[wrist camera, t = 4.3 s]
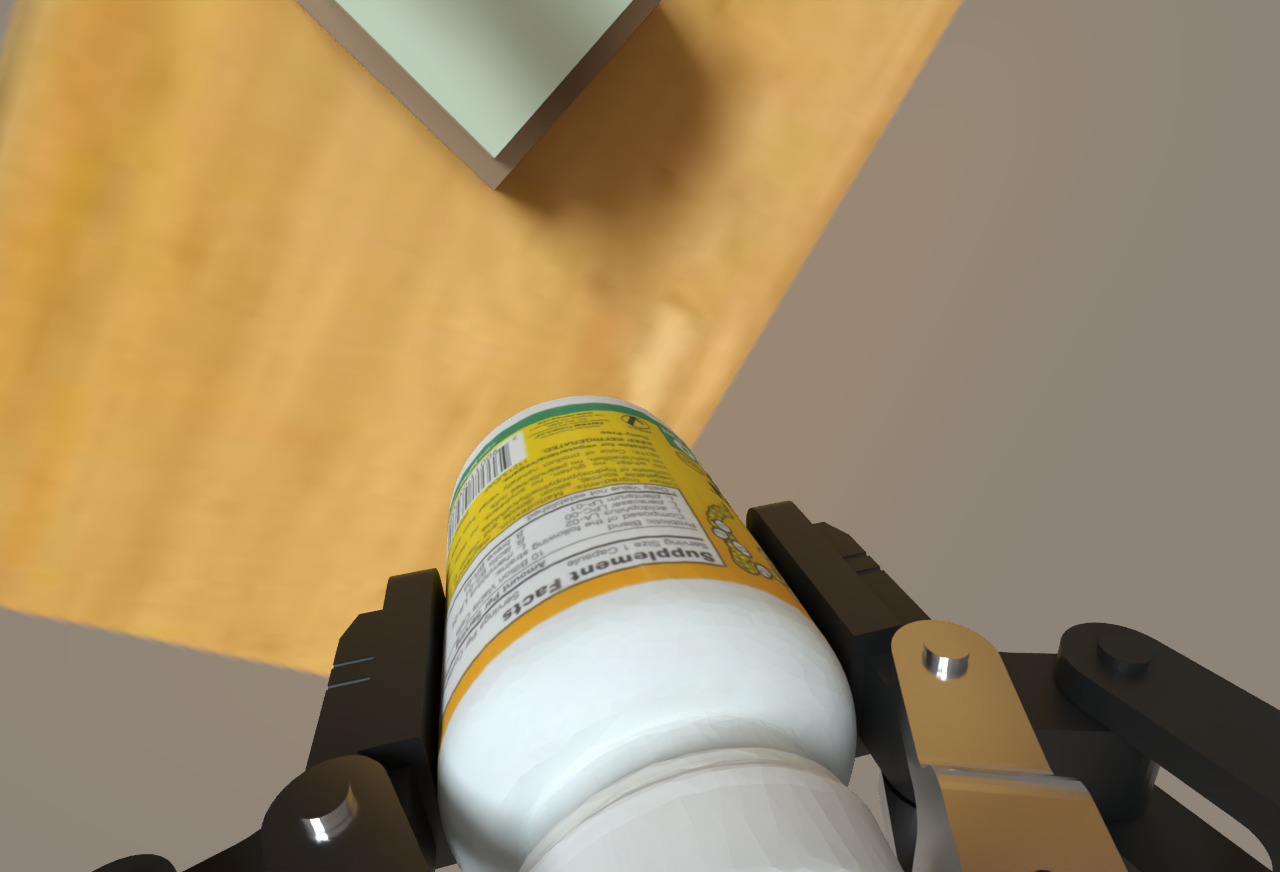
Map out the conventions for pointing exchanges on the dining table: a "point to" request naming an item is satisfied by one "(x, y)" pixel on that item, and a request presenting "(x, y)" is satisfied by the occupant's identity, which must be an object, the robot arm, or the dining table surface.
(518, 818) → the supplement bottle
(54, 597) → the dining table surface
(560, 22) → the stepped square pedestal
